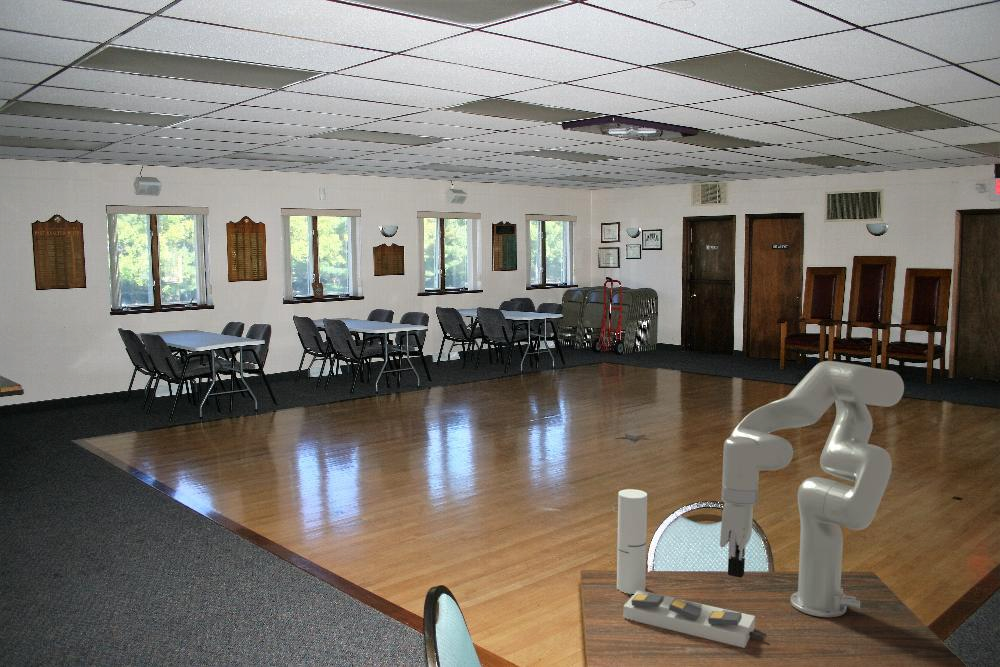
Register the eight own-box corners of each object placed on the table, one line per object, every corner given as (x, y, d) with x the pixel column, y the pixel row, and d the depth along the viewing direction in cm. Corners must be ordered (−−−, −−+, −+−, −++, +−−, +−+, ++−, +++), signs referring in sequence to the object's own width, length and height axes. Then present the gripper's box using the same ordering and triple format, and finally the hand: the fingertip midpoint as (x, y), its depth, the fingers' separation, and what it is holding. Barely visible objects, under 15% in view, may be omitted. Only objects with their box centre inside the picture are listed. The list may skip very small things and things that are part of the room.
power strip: (768, 631, 182) (768, 618, 182) (758, 651, 174) (759, 637, 173) (637, 601, 197) (638, 588, 197) (623, 618, 189) (623, 605, 188)
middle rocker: (700, 613, 184) (701, 608, 184) (695, 620, 180) (697, 615, 180) (674, 602, 187) (675, 597, 187) (668, 609, 183) (669, 604, 183)
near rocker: (741, 618, 179) (741, 612, 179) (737, 625, 176) (736, 619, 176) (713, 616, 182) (712, 610, 182) (708, 623, 179) (707, 618, 179)
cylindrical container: (644, 595, 200) (646, 499, 197) (615, 593, 202) (617, 497, 199) (645, 583, 207) (647, 490, 204) (617, 581, 209) (619, 488, 206)
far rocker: (663, 600, 188) (662, 594, 188) (658, 607, 185) (657, 601, 185) (637, 598, 191) (637, 593, 191) (632, 605, 188) (631, 600, 188)
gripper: (730, 482, 183) (727, 560, 185) (713, 500, 170) (709, 583, 172) (764, 488, 179) (760, 567, 181) (749, 506, 166) (745, 591, 168)
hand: (735, 575), depth 176 cm, fingers closed
